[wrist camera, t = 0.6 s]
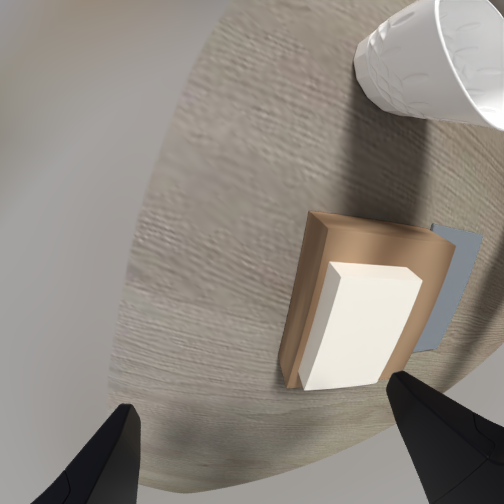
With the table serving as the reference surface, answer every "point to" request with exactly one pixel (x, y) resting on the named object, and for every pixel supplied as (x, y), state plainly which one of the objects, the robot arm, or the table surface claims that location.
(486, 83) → the white cup
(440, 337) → the mat
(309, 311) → the tan beveled block
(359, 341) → the white sticky note pad
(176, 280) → the table surface
